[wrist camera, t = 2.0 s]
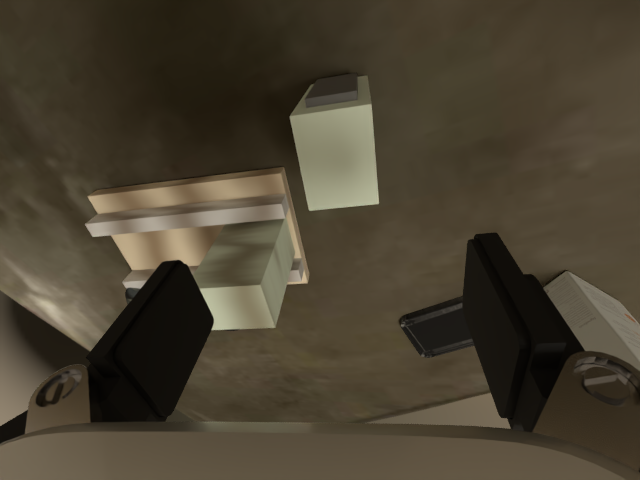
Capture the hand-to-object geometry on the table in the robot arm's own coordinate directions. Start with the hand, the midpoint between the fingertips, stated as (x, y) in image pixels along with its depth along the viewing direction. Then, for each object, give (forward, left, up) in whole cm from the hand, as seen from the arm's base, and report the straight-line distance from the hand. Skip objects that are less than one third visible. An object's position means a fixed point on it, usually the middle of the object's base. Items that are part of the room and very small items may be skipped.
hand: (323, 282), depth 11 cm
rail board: (+10, -16, -20) cm, 28 cm away
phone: (+25, +12, -21) cm, 35 cm away
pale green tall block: (0, 0, -20) cm, 20 cm away
